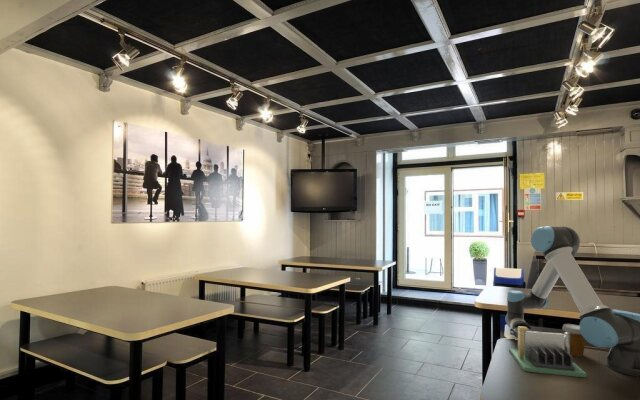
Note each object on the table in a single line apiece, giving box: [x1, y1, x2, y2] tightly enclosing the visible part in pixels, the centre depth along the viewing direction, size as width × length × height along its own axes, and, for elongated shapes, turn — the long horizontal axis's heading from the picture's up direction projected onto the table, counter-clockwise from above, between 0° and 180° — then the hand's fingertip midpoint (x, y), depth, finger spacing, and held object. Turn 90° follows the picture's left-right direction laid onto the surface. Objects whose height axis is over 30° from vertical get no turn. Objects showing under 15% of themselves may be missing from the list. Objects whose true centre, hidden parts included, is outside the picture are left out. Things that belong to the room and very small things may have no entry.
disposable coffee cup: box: [561, 323, 586, 357], centre depth 170 cm, size 10×10×12 cm
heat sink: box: [517, 326, 574, 371], centre depth 154 cm, size 19×11×13 cm, turn 77°
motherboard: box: [508, 348, 587, 378], centre depth 158 cm, size 22×22×2 cm
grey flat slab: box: [524, 330, 564, 359], centre depth 158 cm, size 15×2×11 cm, turn 79°
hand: (536, 344), depth 159 cm, fingers closed
